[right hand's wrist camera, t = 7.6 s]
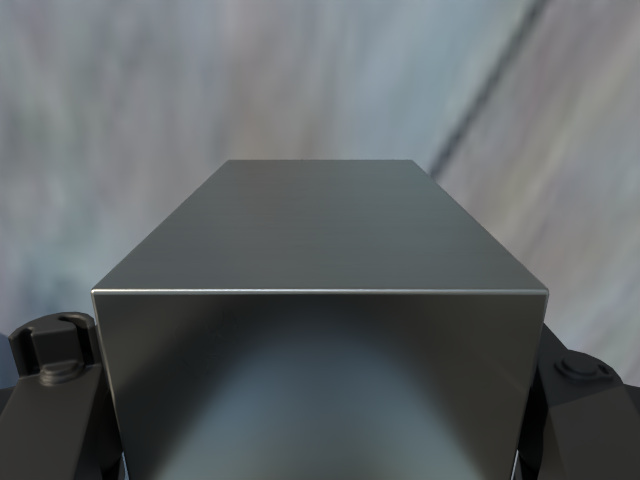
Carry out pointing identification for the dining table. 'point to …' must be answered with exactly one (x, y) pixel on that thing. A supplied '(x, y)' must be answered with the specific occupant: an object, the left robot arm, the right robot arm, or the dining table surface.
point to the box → (320, 331)
